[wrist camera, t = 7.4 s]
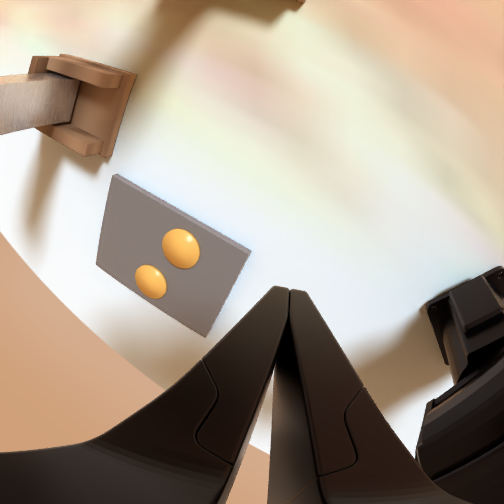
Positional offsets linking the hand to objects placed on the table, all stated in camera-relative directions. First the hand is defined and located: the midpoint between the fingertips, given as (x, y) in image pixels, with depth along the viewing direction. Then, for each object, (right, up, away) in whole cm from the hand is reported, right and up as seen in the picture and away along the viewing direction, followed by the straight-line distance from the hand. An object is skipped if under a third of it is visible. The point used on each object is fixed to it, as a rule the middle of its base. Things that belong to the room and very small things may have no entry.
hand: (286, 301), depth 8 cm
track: (-14, +13, +12) cm, 23 cm away
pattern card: (-8, +1, +16) cm, 18 cm away
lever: (-16, +14, +11) cm, 24 cm away
